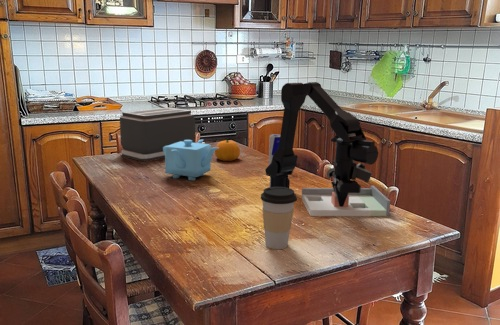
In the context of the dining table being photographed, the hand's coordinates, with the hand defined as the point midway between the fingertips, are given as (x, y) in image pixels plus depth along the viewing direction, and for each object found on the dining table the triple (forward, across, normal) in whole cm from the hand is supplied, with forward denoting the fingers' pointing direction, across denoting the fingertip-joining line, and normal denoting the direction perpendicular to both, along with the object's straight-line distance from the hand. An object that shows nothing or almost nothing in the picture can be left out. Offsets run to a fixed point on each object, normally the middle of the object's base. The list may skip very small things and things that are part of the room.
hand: (341, 206), depth 150 cm
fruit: (+3, +74, +35) cm, 82 cm away
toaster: (+3, +87, +67) cm, 110 cm away
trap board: (+3, +6, -2) cm, 7 cm away
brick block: (+1, +4, 0) cm, 4 cm away
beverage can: (+3, +56, +15) cm, 58 cm away
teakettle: (+3, +44, +50) cm, 67 cm away
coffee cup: (+3, -24, +23) cm, 33 cm away
